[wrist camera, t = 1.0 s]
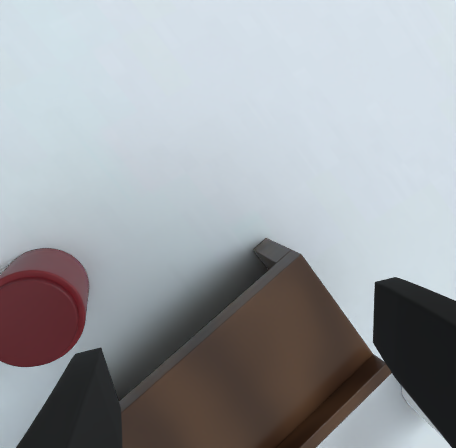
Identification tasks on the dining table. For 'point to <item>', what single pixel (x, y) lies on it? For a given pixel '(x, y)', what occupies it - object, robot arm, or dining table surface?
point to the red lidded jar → (41, 307)
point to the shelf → (258, 370)
